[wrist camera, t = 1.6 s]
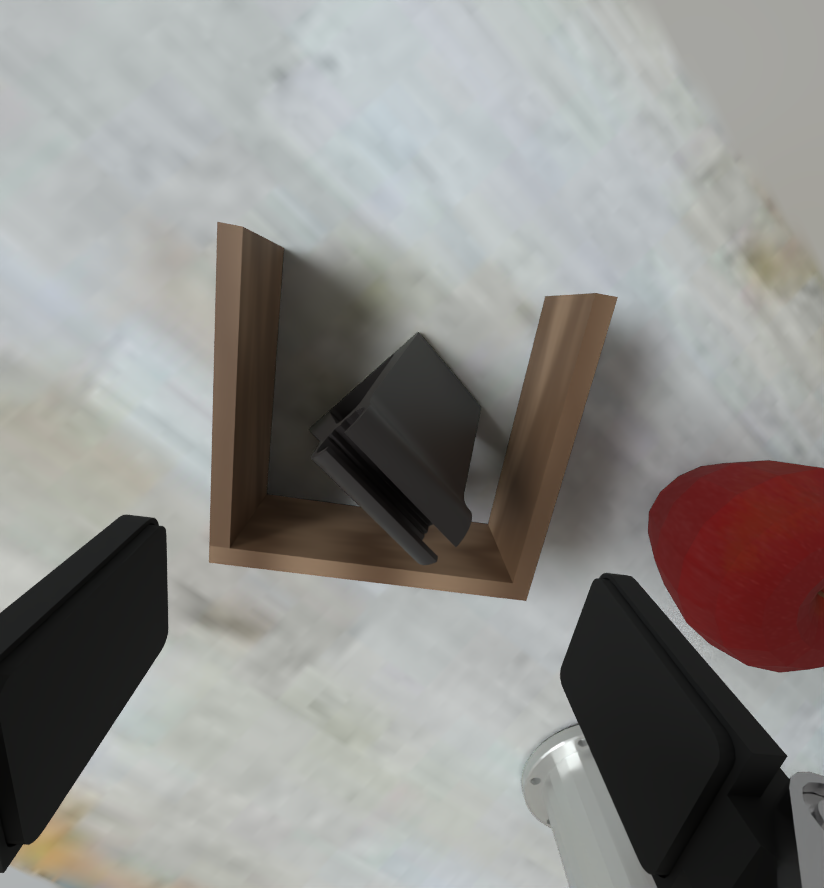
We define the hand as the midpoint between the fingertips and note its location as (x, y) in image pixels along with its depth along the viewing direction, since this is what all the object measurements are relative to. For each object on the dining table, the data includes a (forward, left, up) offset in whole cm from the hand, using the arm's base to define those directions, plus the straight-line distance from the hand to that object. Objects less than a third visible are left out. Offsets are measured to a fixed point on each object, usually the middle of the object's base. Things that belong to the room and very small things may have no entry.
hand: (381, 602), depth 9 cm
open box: (0, -1, -18) cm, 18 cm away
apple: (-21, +3, -18) cm, 28 cm away
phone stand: (0, 0, -18) cm, 18 cm away
